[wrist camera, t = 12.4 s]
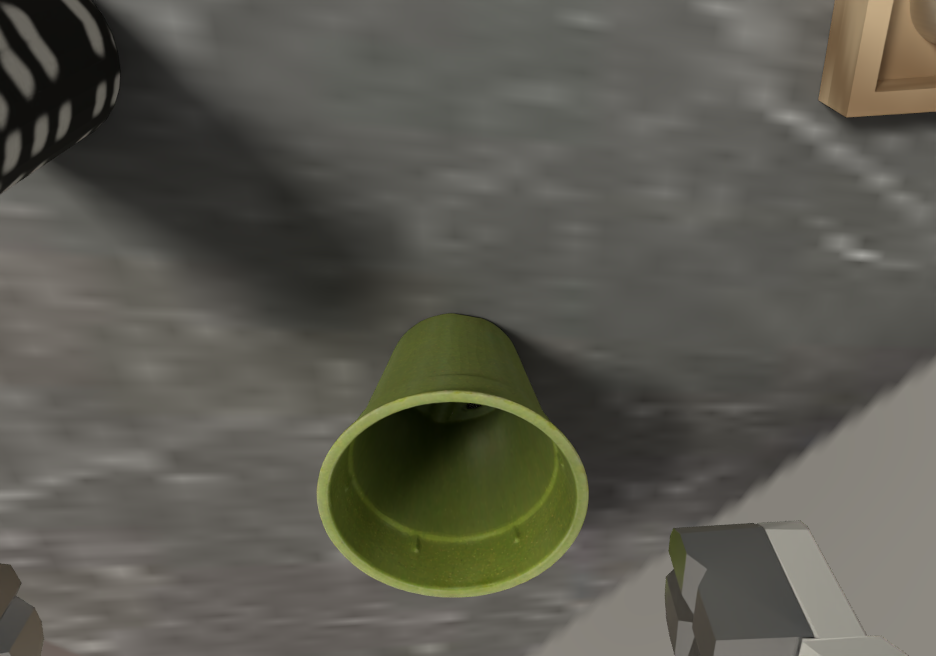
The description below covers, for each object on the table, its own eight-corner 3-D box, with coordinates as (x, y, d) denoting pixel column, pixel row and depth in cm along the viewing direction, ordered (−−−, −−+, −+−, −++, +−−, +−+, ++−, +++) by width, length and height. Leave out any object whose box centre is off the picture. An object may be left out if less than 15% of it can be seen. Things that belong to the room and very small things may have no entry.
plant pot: (602, 335, 42) (645, 472, 32) (485, 474, 47) (491, 629, 37) (417, 229, 38) (402, 346, 29) (313, 391, 44) (270, 537, 34)
